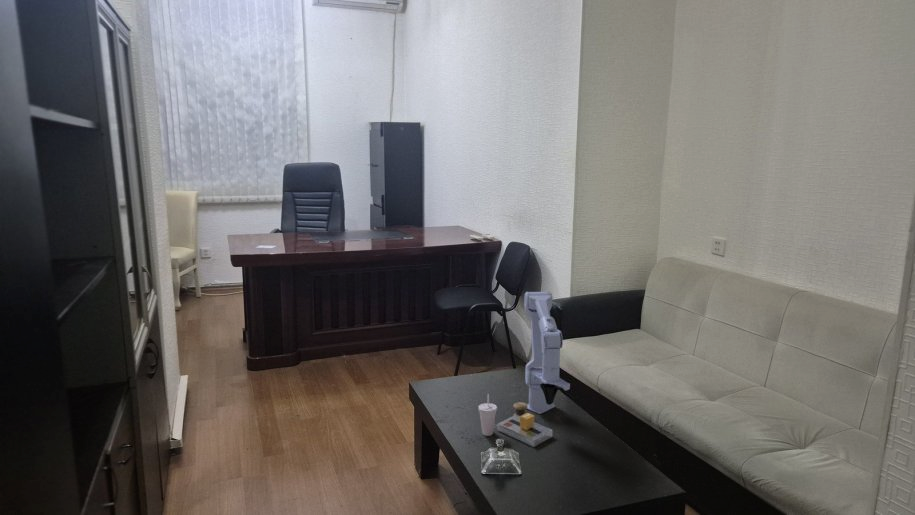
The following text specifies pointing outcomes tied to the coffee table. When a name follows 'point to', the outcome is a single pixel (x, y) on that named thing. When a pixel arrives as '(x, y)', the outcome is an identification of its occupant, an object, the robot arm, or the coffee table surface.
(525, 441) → the panel
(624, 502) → the coffee table surface
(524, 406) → the reel
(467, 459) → the coffee table surface
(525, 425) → the toggle
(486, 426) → the smoothie
